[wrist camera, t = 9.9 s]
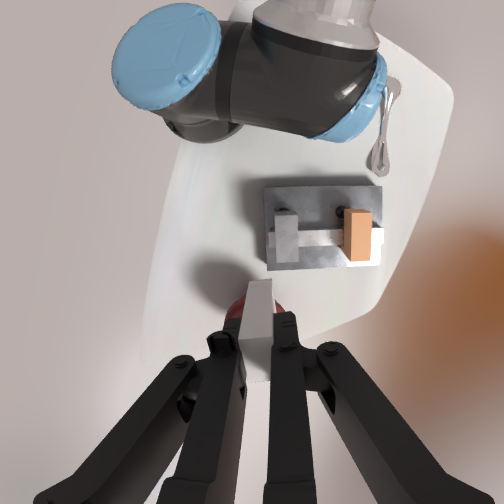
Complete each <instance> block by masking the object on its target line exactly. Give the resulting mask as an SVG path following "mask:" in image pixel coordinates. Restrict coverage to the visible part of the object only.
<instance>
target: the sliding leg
mask: <svg viewBox="0 0 504 504" xmlns="http://www.w3.org/2000/svg"><path fill="white" fill-rule="evenodd" d="M371 241H372V212H370V211H367V210H365V209H351V208H349V209H344V245H341V250H342V252H343V253H344V255H345V256H346V257H347V258H348V259H349V261H350V262H359V261H370V259H371Z"/></svg>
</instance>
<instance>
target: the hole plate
mask: <svg viewBox="0 0 504 504" xmlns="http://www.w3.org/2000/svg"><path fill="white" fill-rule="evenodd" d="M263 203H264V220H265V237H266V256H267V271H274V270H296V269H315V268H334V267H351V266H367V265H380V251H381V243H373V244H371V259H370V261H359V262H350V261H349V259H348V258H347V257H346V256H345V255H344V253H343V252H342V250H341V245H327V246H305V247H299V262H285V263H277V259H276V248H269V236H268V230H269V229H275V219H274V212H279V211H282V210H286V211H295V212H296V213H297V215H298V228H315V227H343V226H344V209H349V208H351V209H365V210H367V211H370V212H372V226H378V225H379V226H381V227H382V186H376V185H316V186H285V187H264V188H263Z"/></svg>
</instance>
